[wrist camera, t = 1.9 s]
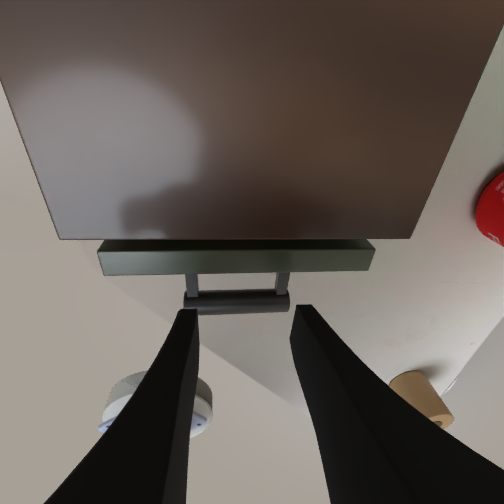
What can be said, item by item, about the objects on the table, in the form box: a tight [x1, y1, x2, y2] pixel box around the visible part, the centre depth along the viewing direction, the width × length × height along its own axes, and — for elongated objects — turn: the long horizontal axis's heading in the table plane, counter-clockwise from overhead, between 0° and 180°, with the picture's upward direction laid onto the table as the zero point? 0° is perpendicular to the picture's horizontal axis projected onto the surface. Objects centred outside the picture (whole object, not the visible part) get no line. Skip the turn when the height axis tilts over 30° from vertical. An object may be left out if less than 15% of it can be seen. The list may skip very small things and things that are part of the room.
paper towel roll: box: [389, 371, 454, 429], centre depth 31 cm, size 4×4×5 cm
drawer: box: [97, 239, 376, 315], centre depth 13 cm, size 16×11×7 cm
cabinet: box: [0, 0, 504, 240], centre depth 10 cm, size 12×13×9 cm
